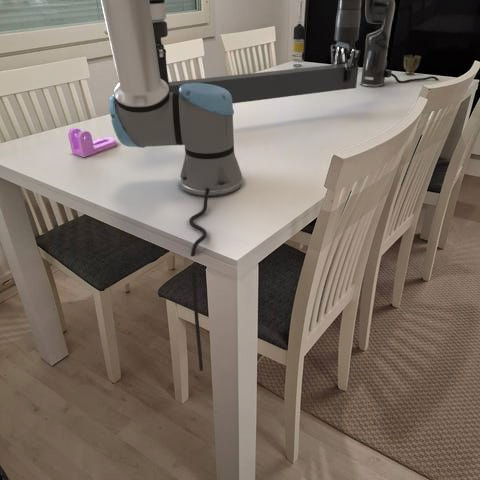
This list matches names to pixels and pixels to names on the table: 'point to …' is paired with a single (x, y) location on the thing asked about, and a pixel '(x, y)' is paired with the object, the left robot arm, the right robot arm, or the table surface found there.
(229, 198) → the table surface
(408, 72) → the cup
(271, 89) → the bar
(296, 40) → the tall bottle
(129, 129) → the left robot arm
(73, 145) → the bracket
